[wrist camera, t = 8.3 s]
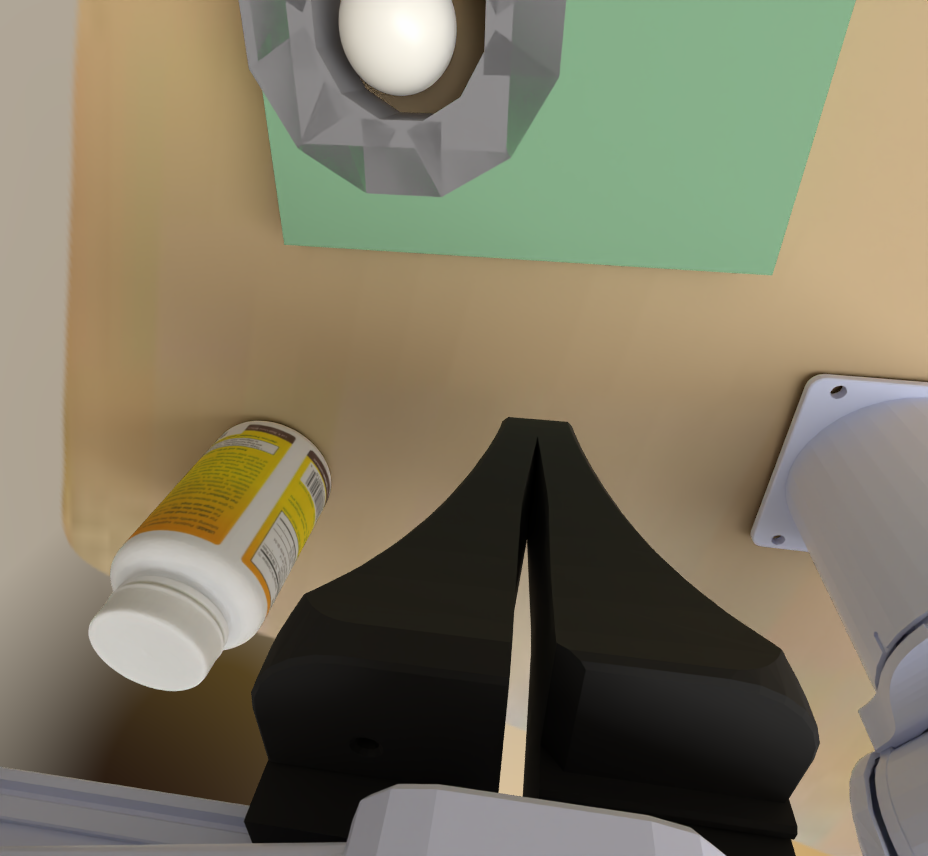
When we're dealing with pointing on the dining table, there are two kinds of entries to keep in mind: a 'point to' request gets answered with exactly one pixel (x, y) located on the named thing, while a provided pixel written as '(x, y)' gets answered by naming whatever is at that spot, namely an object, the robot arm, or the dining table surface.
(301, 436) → the supplement bottle
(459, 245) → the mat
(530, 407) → the dining table surface
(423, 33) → the ball
